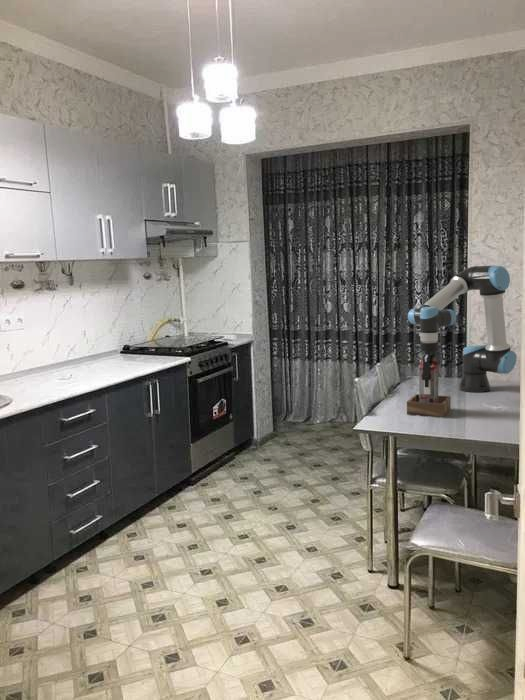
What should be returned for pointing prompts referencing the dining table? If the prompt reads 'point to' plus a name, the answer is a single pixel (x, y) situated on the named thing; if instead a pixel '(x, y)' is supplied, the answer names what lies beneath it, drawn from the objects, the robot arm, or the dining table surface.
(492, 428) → the dining table surface
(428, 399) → the juice carton
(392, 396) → the dining table surface
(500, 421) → the dining table surface
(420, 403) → the walled box
